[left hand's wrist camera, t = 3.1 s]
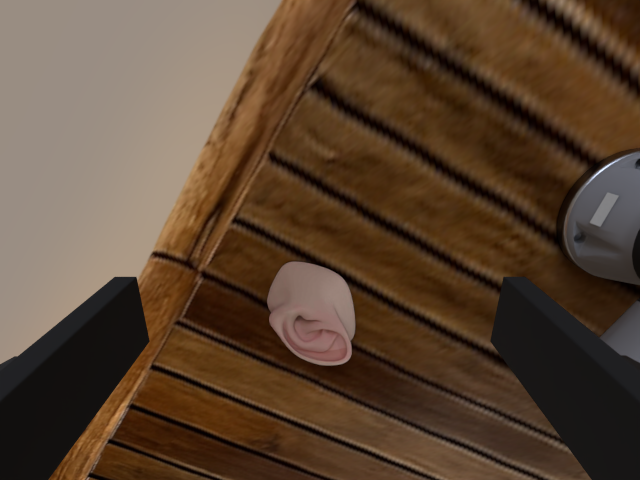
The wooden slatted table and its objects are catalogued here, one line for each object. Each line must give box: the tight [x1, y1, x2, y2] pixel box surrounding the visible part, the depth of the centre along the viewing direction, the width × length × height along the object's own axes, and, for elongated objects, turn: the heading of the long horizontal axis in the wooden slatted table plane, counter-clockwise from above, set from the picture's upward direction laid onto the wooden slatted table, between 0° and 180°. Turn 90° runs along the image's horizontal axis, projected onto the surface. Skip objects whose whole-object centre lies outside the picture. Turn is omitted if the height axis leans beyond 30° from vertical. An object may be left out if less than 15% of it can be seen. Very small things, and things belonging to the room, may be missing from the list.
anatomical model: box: [267, 262, 355, 365], centre depth 44 cm, size 13×4×12 cm
